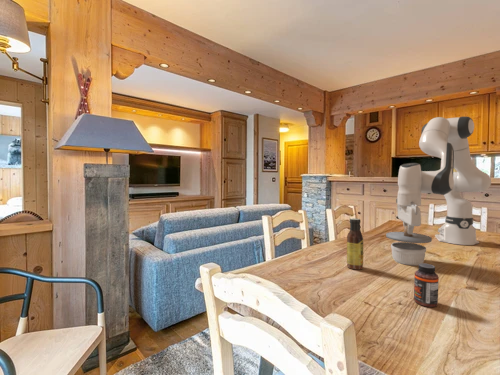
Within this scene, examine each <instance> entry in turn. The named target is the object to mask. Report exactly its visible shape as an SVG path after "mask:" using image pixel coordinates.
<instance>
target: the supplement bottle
mask: <svg viewBox="0 0 500 375" xmlns="http://www.w3.org/2000/svg"><path fill="white" fill-rule="evenodd" d="M435 271H436V267H435V265H433V264H429V263H425V262H423V263H421V264H419V265H418V269H417V270H415V272H414V280H413V281H414V282H413V283H414V285H413V301H414V302H415V303H416V304H418V305H419V306H422V307H427V308H434V307H437V306H438V302H439V279H440V278H439V275H438V274H437V273H436V272H435Z"/></svg>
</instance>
